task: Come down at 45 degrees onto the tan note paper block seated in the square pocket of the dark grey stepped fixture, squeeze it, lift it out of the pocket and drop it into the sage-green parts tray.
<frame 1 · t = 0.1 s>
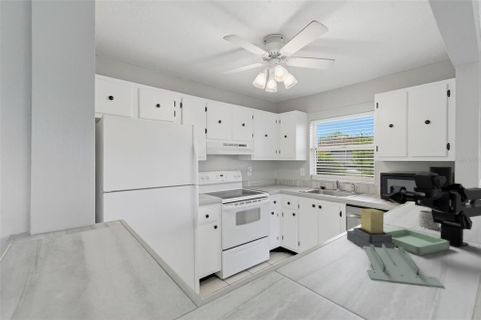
hand: (403, 199, 66), 17 cm above the countertop, tool horizontal, fingers open, 9 cm apart
metal bracket: (393, 272, 55), on the countertop
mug: (428, 226, 94), on the countertop
tan note paper block: (371, 237, 71), point 3 cm above the countertop, touching dark grey stepped fixture
dark grey stepped fixture: (371, 246, 71), on the countertop
parts tray: (411, 244, 73), on the countertop
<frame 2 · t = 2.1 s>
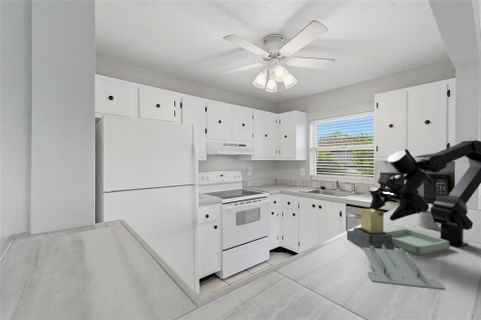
hand: (379, 215, 71), 10 cm above the countertop, tool tilted 45°, fingers open, 9 cm apart
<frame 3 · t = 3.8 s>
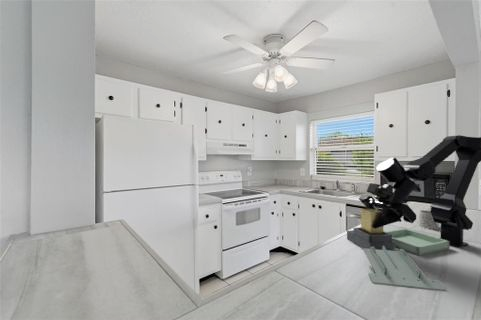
hand: (368, 225, 71), 7 cm above the countertop, tool tilted 45°, fingers closed on tan note paper block, 4 cm apart
tan note paper block: (371, 237, 71), point 3 cm above the countertop, touching gripper, dark grey stepped fixture
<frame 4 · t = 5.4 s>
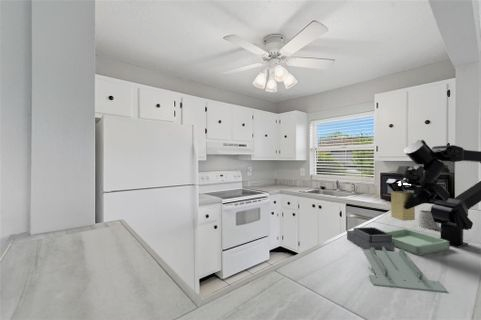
hand: (399, 206, 72), 13 cm above the countertop, tool tilted 45°, fingers closed on tan note paper block, 4 cm apart
tan note paper block: (402, 218, 73), point 9 cm above the countertop, touching gripper
when the fingers open (8 cm above the countertop, at t = 6.9 s): tan note paper block drops 4 cm, resting on parts tray.
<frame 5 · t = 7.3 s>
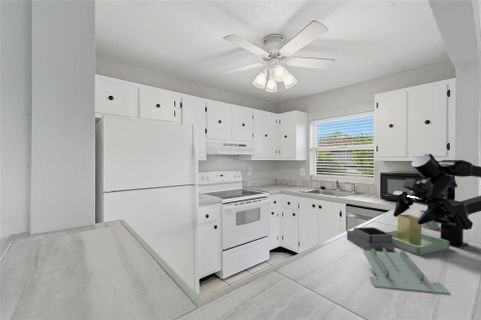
hand: (405, 219, 73), 9 cm above the countertop, tool tilted 45°, fingers open, 9 cm apart
tan note paper block: (409, 242, 73), point 1 cm above the countertop, touching parts tray
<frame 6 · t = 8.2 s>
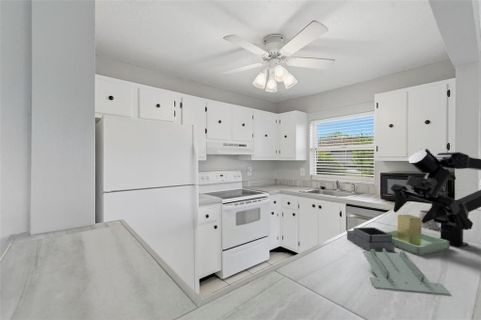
hand: (407, 216, 73), 10 cm above the countertop, tool tilted 40°, fingers open, 9 cm apart
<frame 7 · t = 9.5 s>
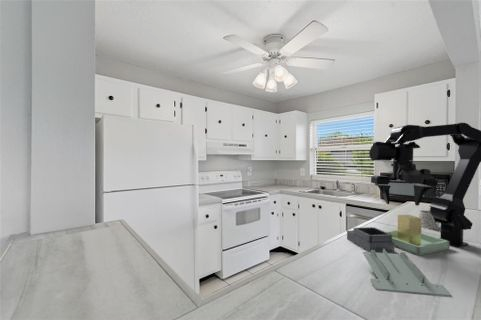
hand: (402, 204, 76), 13 cm above the countertop, tool pointing down, fingers open, 9 cm apart
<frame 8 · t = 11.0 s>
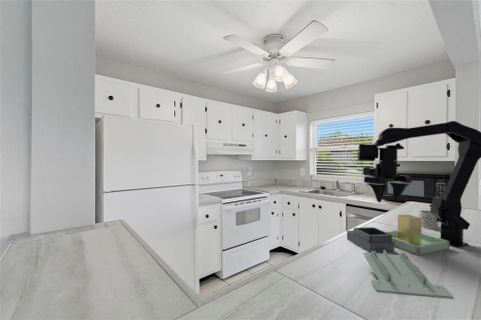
hand: (387, 201, 82), 13 cm above the countertop, tool pointing down, fingers open, 9 cm apart
at the end: tan note paper block inside the target area on the parts tray (1.0 cm from its centre), point 0.6 cm above the parts tray's base; tan note paper block moved 14.5 cm from its start; the gripper is holding nothing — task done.
